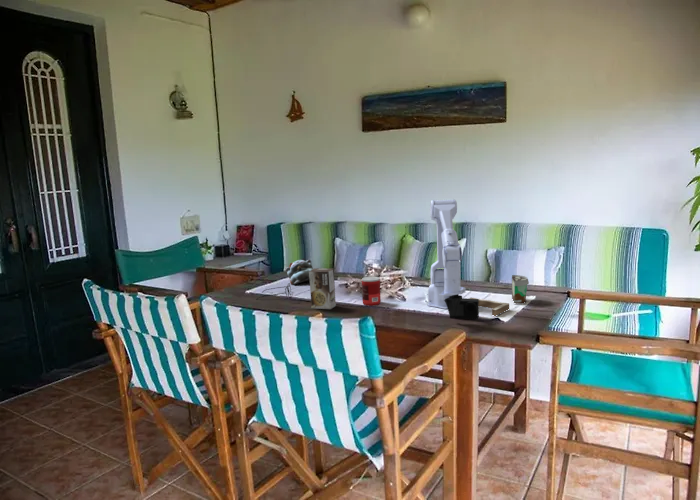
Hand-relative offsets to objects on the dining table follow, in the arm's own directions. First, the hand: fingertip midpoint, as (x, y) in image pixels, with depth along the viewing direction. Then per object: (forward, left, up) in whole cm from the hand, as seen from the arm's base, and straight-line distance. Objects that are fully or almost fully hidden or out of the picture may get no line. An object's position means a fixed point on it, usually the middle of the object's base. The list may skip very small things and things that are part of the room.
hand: (452, 315), depth 193 cm
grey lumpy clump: (-101, +15, -3) cm, 102 cm away
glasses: (-91, -11, -4) cm, 92 cm away
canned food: (-43, +4, -3) cm, 43 cm away
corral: (0, +21, -3) cm, 21 cm away
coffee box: (-56, -12, -3) cm, 57 cm away
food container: (+6, +42, -3) cm, 43 cm away
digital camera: (0, +8, -3) cm, 9 cm away
